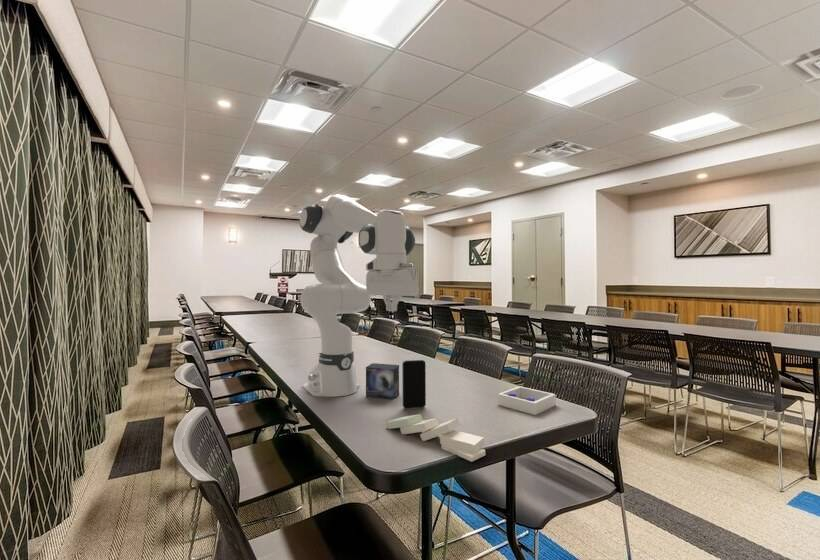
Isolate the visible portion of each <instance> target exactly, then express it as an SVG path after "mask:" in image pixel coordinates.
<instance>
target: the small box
mask: <svg viewBox="0 0 820 560" xmlns="http://www.w3.org/2000/svg"><path fill="white" fill-rule="evenodd" d="M365 396H366V397H368V398H377V399H378V398H379V399H390V400H395V399H396V398H397V397H398V396H400V365H399V364H391V363H390V364H388V363H375V362H373V363H370V364H369V365H367V366H365Z"/></svg>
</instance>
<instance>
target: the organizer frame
mask: <svg viewBox="0 0 820 560" xmlns="http://www.w3.org/2000/svg"><path fill="white" fill-rule="evenodd" d="M511 393H512V394H516V397H513V396H509V395H508V394H511ZM556 397H557V396H556V394H555V393H553V392H547V391H544V390H543V391H542V390H538V389H534V388H529V387H525V386H516V387H514V388H513V387H512V388H511V389H508V390H505V391H502V392H499V393H497V406H500V407H504V408H509V409H511V410H516V411H518V412H519V411H520V412H523V413H525V414H530V415H534V416H536V415H538V414H541V413H542V412H544V411H547V410H549V409H551V408H553V407H555V406H556V403H557V400H556ZM528 398H533V399H534V402H533V401H529V400H527V399H528Z"/></svg>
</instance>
